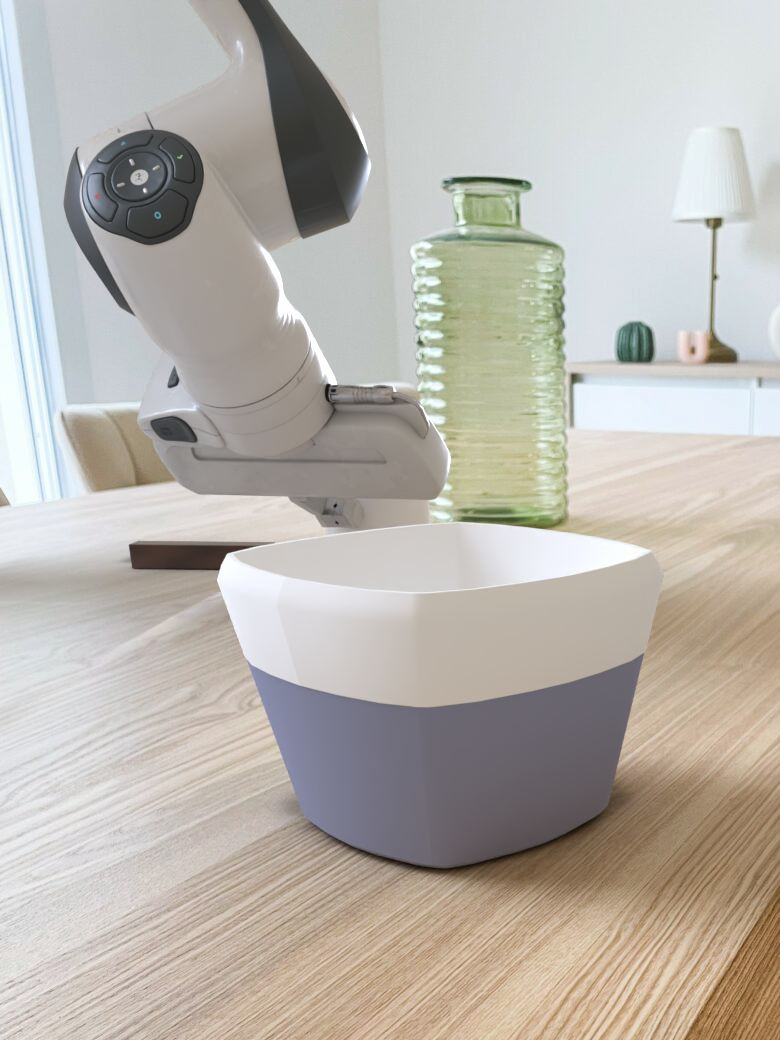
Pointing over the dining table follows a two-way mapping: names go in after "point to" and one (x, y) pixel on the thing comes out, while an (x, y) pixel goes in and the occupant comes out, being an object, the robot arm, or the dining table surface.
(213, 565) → the walnut stick
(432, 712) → the bowl
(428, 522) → the beverage can
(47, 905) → the dining table surface
